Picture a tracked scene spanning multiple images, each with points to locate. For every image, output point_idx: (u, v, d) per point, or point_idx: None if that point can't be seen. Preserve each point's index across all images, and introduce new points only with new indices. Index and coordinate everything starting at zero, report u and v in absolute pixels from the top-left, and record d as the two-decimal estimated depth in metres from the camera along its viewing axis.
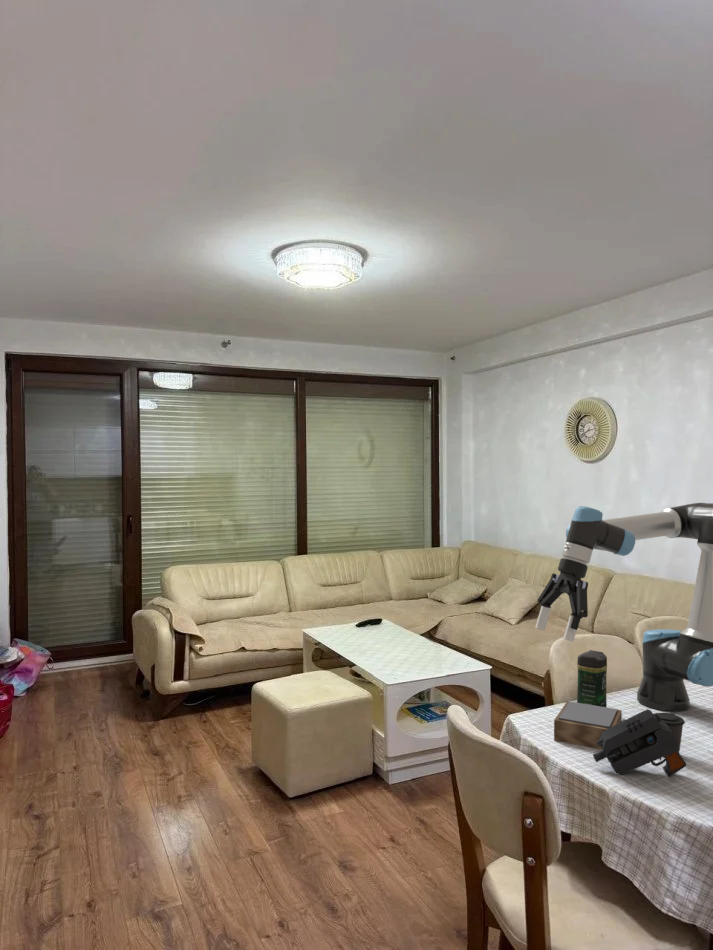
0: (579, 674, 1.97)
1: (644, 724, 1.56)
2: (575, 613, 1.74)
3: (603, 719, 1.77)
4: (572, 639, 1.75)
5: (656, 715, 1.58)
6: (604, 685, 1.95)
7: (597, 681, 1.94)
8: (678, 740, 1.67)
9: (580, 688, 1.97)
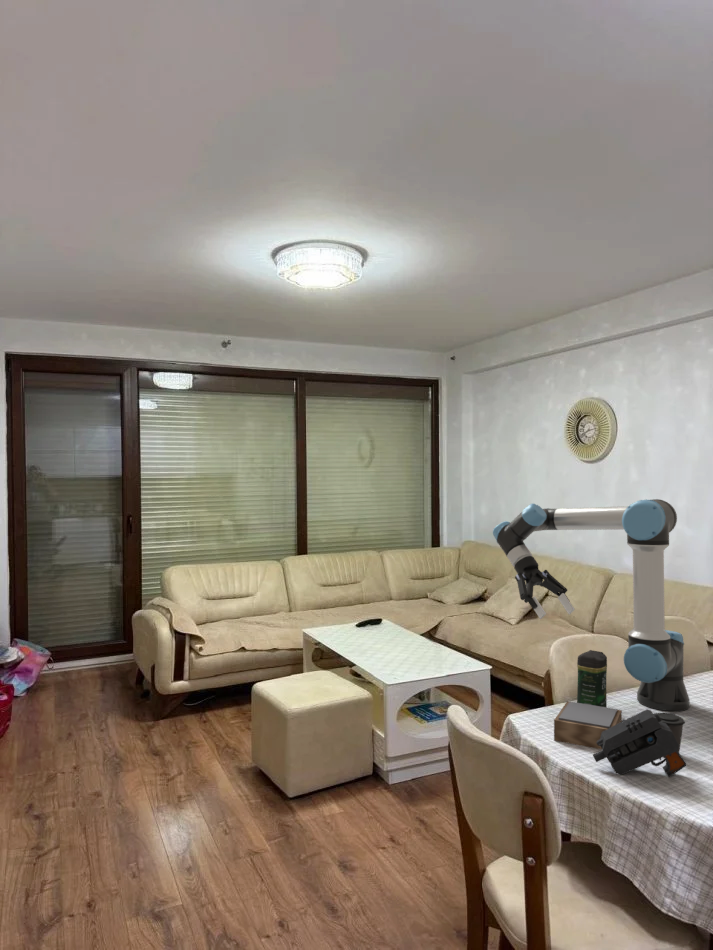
0: (579, 674, 1.97)
1: (644, 724, 1.56)
2: None
3: (603, 719, 1.77)
4: (542, 613, 2.06)
5: (656, 715, 1.58)
6: (604, 685, 1.95)
7: (597, 681, 1.94)
8: (678, 740, 1.67)
9: (580, 688, 1.97)
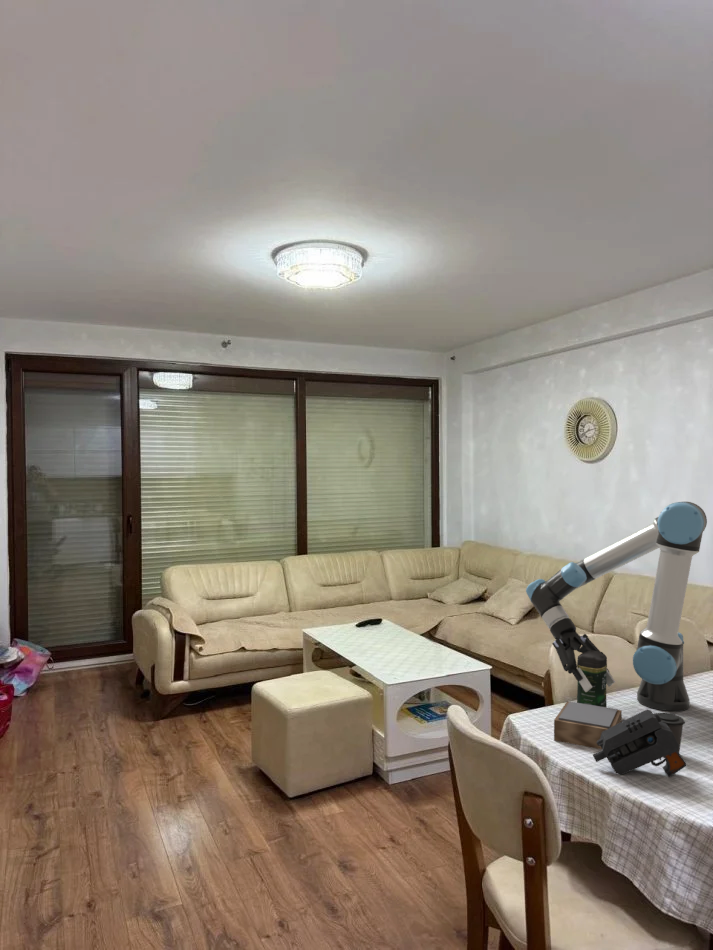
0: None
1: (644, 724, 1.56)
2: None
3: (603, 719, 1.77)
4: (588, 686, 1.93)
5: (656, 715, 1.58)
6: (604, 685, 1.95)
7: (597, 681, 1.94)
8: (678, 740, 1.67)
9: (580, 688, 1.97)
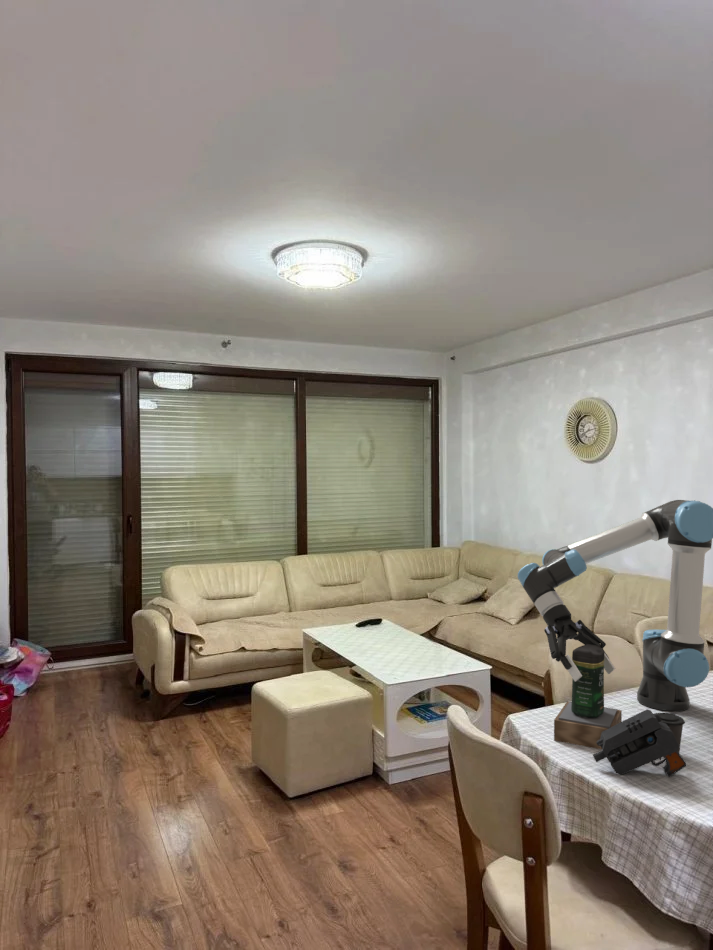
0: None
1: (644, 724, 1.56)
2: None
3: (603, 719, 1.77)
4: (578, 675, 1.76)
5: (656, 715, 1.58)
6: (601, 682, 1.79)
7: (593, 677, 1.78)
8: (678, 740, 1.67)
9: (576, 685, 1.80)
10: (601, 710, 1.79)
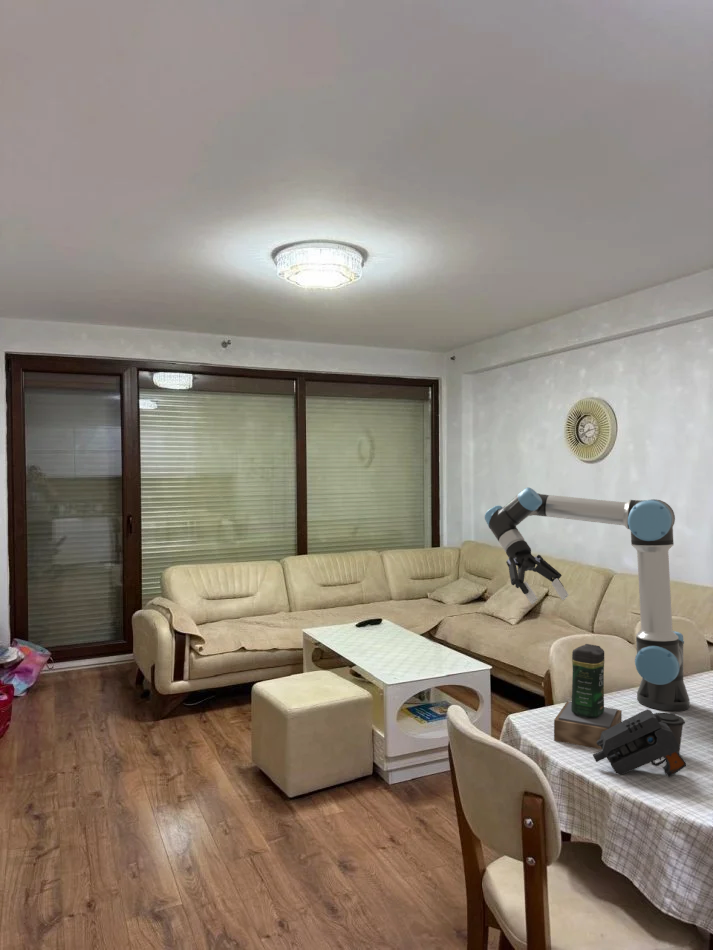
0: (574, 670, 1.81)
1: (644, 724, 1.56)
2: None
3: (603, 719, 1.77)
4: (534, 598, 1.99)
5: (656, 715, 1.58)
6: (601, 682, 1.79)
7: (593, 677, 1.78)
8: (678, 740, 1.67)
9: (575, 685, 1.80)
10: (601, 710, 1.79)
